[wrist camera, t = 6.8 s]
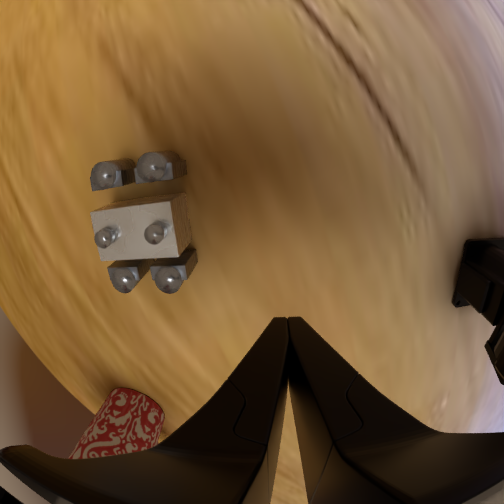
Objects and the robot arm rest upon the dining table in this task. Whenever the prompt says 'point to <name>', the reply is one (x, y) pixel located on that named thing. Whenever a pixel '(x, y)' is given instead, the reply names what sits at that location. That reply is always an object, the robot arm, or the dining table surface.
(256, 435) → the robot arm
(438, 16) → the dining table surface
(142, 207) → the block with round pegs
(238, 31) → the dining table surface
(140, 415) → the mug
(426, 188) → the dining table surface
